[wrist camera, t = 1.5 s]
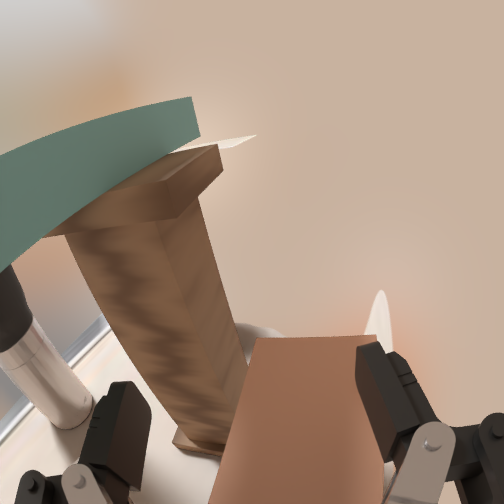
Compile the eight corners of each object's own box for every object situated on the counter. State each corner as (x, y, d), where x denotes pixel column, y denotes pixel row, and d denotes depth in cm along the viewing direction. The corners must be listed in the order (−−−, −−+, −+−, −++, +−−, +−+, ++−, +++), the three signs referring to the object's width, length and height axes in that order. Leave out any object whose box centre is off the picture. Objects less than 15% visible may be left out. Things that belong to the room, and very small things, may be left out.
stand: (176, 447, 32) (27, 213, 17) (195, 400, 39) (91, 174, 24) (269, 462, 29) (165, 179, 14) (280, 407, 36) (217, 143, 20)
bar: (-50, 291, 8) (-84, 212, 6) (164, 144, 28) (154, 107, 26) (-24, 295, 7) (-69, 193, 5) (200, 136, 27) (191, 96, 25)
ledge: (271, 555, 19) (197, 536, 8) (290, 463, 29) (256, 337, 18) (341, 558, 17) (378, 551, 6) (352, 464, 27) (376, 334, 16)
